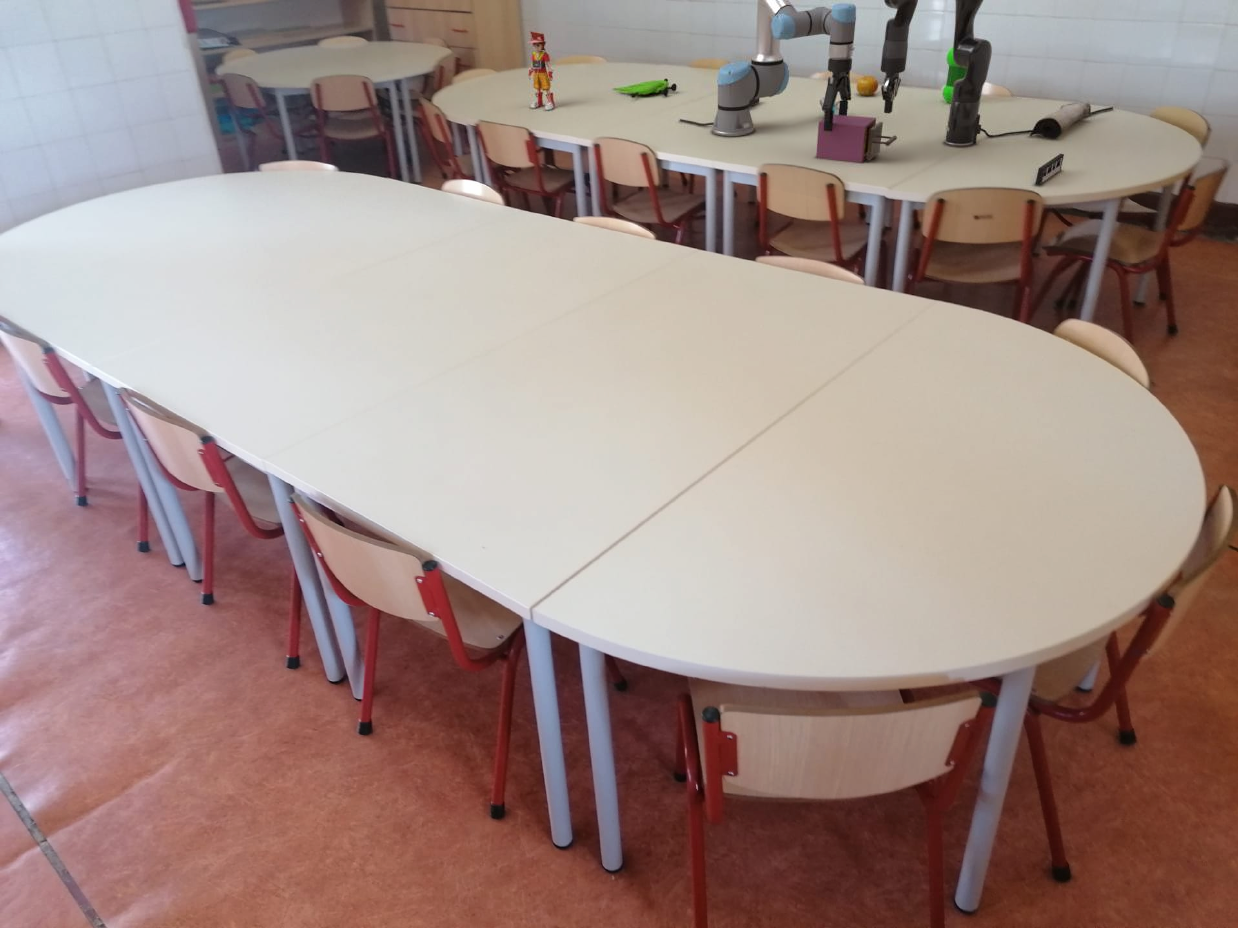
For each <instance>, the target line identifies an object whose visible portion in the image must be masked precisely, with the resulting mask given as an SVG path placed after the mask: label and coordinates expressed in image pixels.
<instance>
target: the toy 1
mask: <svg viewBox="0 0 1238 928" xmlns="http://www.w3.org/2000/svg"><path fill="white" fill-rule="evenodd" d="M529 33H530V35H531V36H528V37H527V38H528V39H529V40H528V41H527V43H529V44H530V43H531V44H532V48H533V50H534V51H533V52H532V55H531V58H530V59H531V63H530V66H528V74H527V75H528V76H527V77H528V79H529V80H531V75H532V74H533V84H532V85H533V86H532V87H533V88H534V89H535V90H536V92H534V95H535V97H536V100H535V101H533V102H531V105H530V108H531V109H535V108H538V107H542V106H544V101H543V100H544V99H543V95H544V92H546V94H545V97H546V99H547V103H546V104H545V106H544V110H546V111H549V110H553V109H554V107H555V106H556V105H555V99H554V92H551V91H550V90H551V86H552V84H551V82H552V81H553V80H554V77H553V73H554V71H555V70H554V69H552V68H551V63H550V61H551V59H550V58H551V57H550V54H549V53H548V52H547V50H546V48H545V46H546V44H547V41H545V35H544V33H543V32H542V33H539V32H535V31H529Z"/></svg>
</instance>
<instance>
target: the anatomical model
mask: <svg viewBox="0 0 1238 928" xmlns="http://www.w3.org/2000/svg"><path fill="white" fill-rule="evenodd" d="M824 99H825V97H822V98H819V105H820V106H821V107H820V108H822V107H823V103H824ZM840 100H841V99H839V100H837V101H835V103H834V107H833V110H834V114H835V115H839V104H840ZM849 108H850V107H849V106H848V109H849ZM822 111H823V113H824V114H825V110H822Z"/></svg>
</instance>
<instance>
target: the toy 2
mask: <svg viewBox="0 0 1238 928" xmlns="http://www.w3.org/2000/svg"><path fill="white" fill-rule="evenodd" d="M669 85H670V83H669V79H668V78H664V79H663V80H649V81H644V82H640V83H634V84H629V85H627V86H621V87H613V88H612V89H613V90H616V91H619V92H623V93H627V94H628V93H629V94H631V95H630V96H631V98H632V99H634V98H636V96H637V95H650V94H652V93H654V94H658V93H662V95H663V96H665V97H667V96H668V95H669V90H671V91H672V92H676V91H677V84H676V83H672V84H671V86H669Z"/></svg>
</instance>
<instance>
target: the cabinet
mask: <svg viewBox="0 0 1238 928" xmlns="http://www.w3.org/2000/svg"><path fill="white" fill-rule="evenodd" d="M872 123H874V126H875V125H876V124H877V117H869V116H868V117H867V116H859V115H858V116H856V115H848V114H847V115H835V114H833V127H832V131H824V118H823V119H820V120H819V121H818V125H817V126H818V128H817V142H816V153H815V154H816V155H815V158H817V159H826V160H835V161H843V162H853V163H861V164H862V163H863V162H864V161H865V160H867V155H866V156H865V157H863V151H864V142H865V132H866V128H867V127H868V126H870V125H871V124H872Z"/></svg>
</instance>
